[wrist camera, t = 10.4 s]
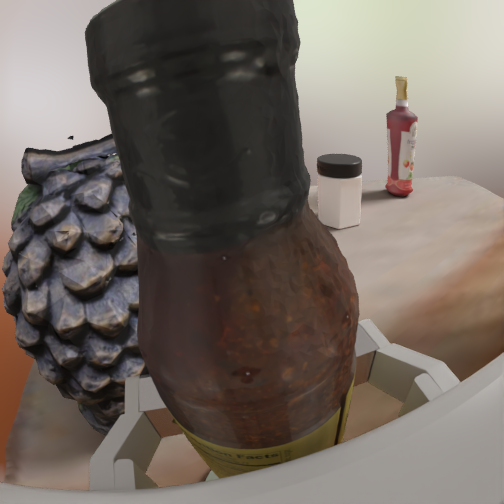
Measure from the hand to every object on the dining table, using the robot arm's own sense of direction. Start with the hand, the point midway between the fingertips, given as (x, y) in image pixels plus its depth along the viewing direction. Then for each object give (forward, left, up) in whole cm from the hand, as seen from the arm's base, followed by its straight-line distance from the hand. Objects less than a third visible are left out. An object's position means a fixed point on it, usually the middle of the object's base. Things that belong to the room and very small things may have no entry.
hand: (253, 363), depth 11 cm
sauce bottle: (-1, +1, -9) cm, 9 cm away
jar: (-6, -49, -17) cm, 52 cm away
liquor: (-22, -65, -17) cm, 71 cm away
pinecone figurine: (+14, -10, -17) cm, 24 cm away
